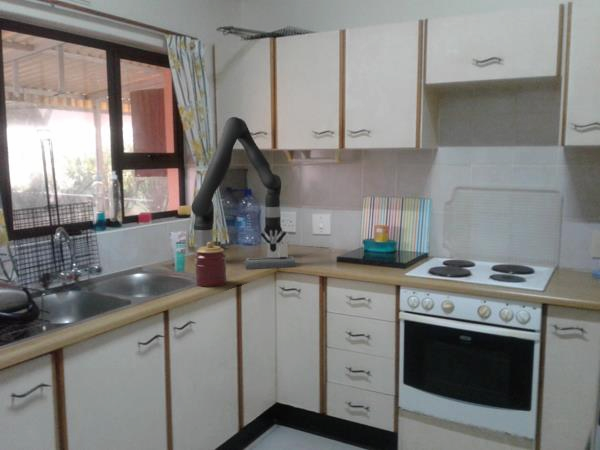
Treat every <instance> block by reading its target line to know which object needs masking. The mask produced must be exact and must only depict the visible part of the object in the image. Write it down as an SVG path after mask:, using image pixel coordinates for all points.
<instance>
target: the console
mask: <svg viewBox="0 0 600 450" xmlns="http://www.w3.org/2000/svg"><path fill="white" fill-rule="evenodd" d="M295 260H296V258H295V257H293V255H292V256H291V255H290V256H288V257H286V259H280V257H268V256H267V257H250V258H249V257H247V258H245V260H243V266H244V268H245V270H260V269H262V270H263V269H281V268H283V269H285V268H296V267H297V262H296V261H295Z"/></svg>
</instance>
